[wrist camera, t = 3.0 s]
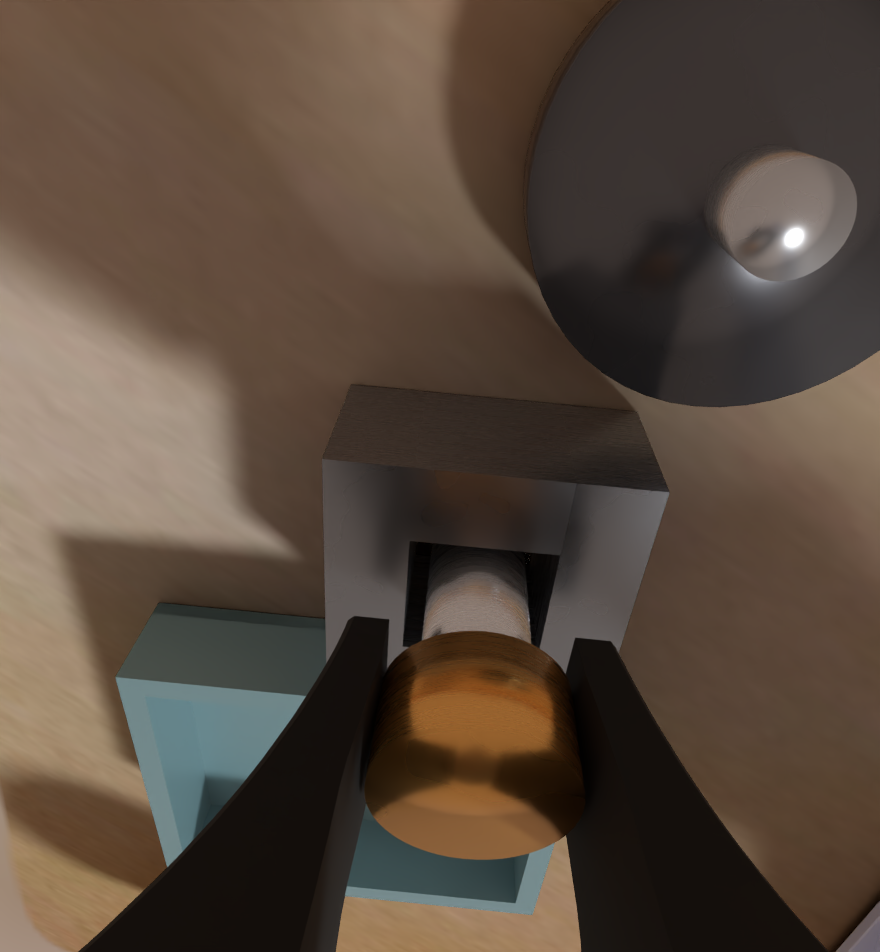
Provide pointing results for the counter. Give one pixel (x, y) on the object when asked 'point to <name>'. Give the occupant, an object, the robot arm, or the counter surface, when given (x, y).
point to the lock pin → (475, 721)
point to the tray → (253, 733)
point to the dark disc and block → (635, 304)
